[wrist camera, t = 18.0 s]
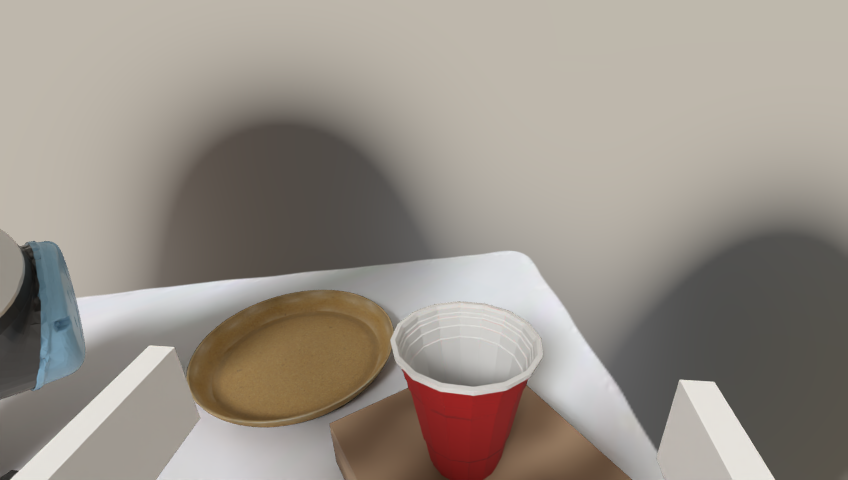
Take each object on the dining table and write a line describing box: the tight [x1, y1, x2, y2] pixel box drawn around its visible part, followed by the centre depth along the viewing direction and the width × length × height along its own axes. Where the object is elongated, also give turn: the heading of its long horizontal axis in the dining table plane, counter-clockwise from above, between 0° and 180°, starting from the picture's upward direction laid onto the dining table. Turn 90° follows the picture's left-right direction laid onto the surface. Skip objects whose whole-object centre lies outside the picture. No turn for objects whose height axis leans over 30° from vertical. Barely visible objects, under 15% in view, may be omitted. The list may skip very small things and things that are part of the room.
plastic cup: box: [390, 301, 543, 480], centre depth 34 cm, size 11×11×12 cm
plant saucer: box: [186, 290, 394, 427], centre depth 54 cm, size 24×24×3 cm
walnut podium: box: [330, 385, 632, 480], centre depth 38 cm, size 18×18×5 cm
